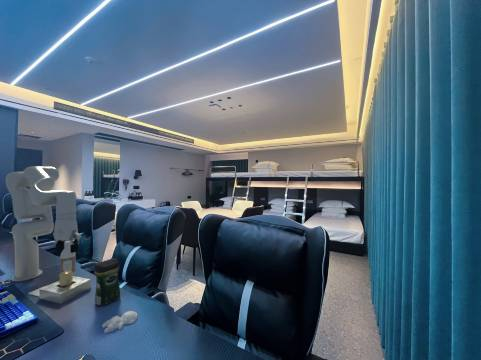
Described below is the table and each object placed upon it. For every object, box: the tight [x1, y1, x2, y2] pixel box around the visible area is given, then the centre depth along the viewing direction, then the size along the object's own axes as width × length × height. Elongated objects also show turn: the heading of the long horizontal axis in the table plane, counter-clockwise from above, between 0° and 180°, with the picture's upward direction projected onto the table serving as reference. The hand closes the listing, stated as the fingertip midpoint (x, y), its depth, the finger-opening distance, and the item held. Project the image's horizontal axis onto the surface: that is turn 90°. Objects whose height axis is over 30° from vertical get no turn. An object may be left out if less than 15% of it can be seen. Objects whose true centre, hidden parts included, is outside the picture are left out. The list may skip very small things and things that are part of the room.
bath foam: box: [59, 241, 77, 277], centre depth 121 cm, size 7×7×20 cm
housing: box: [38, 275, 92, 305], centre depth 104 cm, size 14×14×4 cm
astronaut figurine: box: [102, 310, 138, 334], centre depth 83 cm, size 9×12×3 cm
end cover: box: [58, 271, 73, 288], centre depth 104 cm, size 5×5×10 cm
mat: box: [27, 284, 49, 298], centre depth 106 cm, size 8×8×1 cm
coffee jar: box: [93, 257, 121, 307], centre depth 97 cm, size 10×8×19 cm
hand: (67, 251), depth 104 cm, fingers open, 9 cm apart
